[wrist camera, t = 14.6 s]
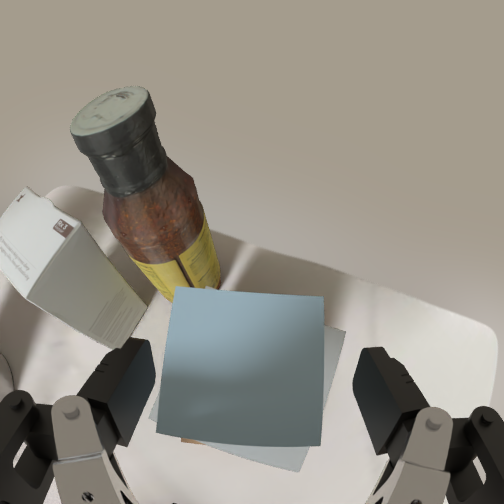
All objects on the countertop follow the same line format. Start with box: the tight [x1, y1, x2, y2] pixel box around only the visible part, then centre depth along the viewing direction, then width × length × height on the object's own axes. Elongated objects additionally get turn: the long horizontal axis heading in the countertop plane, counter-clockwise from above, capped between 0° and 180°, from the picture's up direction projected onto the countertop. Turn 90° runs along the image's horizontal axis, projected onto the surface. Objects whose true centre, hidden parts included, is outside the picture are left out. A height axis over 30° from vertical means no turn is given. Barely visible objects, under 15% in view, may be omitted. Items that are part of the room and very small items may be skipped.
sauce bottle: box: [70, 86, 221, 303], centre depth 18 cm, size 7×6×20 cm
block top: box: [149, 286, 346, 472], centre depth 17 cm, size 10×10×4 cm
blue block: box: [156, 286, 324, 447], centre depth 11 cm, size 4×4×10 cm
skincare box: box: [0, 187, 148, 350], centre depth 19 cm, size 8×6×15 cm
